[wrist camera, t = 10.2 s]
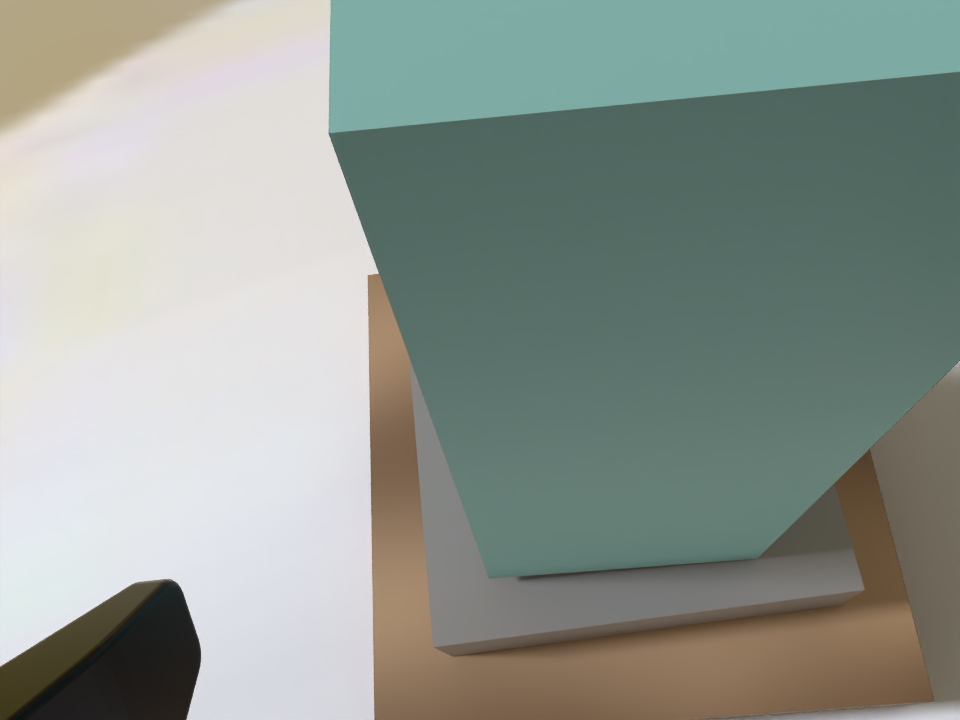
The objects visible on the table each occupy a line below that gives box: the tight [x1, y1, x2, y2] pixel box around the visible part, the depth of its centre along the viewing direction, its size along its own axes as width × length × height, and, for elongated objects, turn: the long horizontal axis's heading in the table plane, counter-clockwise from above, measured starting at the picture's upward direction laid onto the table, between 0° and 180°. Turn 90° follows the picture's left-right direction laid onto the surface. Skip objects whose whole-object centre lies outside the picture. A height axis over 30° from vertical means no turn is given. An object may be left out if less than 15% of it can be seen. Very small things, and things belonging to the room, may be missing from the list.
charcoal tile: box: [409, 358, 865, 656], centre depth 19 cm, size 8×8×2 cm
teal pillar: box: [329, 0, 960, 579], centre depth 12 cm, size 5×5×13 cm
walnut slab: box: [368, 274, 934, 720], centre depth 21 cm, size 11×11×2 cm
